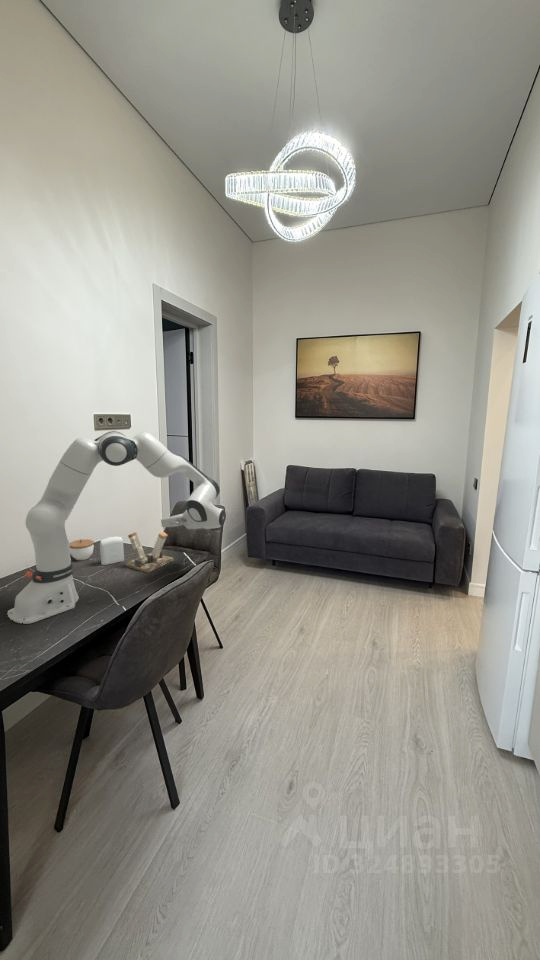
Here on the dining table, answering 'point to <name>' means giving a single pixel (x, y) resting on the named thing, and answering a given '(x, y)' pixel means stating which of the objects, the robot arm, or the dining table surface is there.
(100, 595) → the dining table surface
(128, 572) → the dining table surface
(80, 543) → the lidded jar
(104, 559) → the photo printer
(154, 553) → the lever
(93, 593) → the dining table surface
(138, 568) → the console
